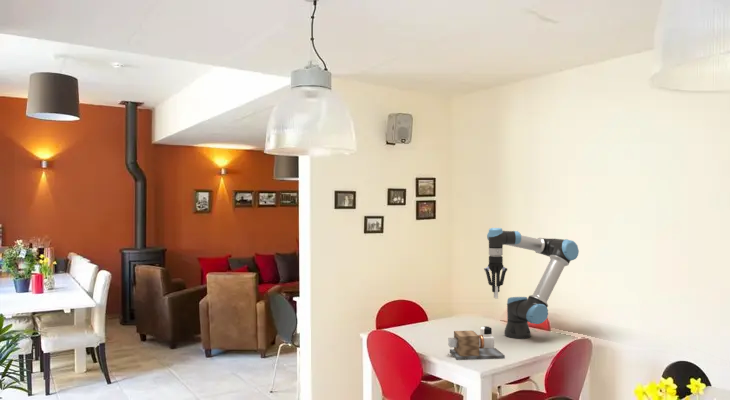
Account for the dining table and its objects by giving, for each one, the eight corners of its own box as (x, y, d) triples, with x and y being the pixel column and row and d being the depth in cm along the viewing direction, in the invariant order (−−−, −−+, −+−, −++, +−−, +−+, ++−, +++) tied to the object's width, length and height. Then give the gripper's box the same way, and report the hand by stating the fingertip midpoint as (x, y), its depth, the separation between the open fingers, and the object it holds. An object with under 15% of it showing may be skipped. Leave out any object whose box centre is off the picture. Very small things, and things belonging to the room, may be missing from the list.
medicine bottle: (490, 347, 299) (490, 325, 299) (494, 350, 292) (494, 328, 292) (477, 347, 299) (477, 325, 299) (481, 351, 292) (481, 328, 292)
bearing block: (495, 350, 292) (495, 329, 292) (504, 358, 278) (504, 335, 278) (449, 352, 289) (449, 330, 289) (456, 359, 275) (456, 337, 275)
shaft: (480, 346, 287) (480, 333, 287) (484, 350, 280) (484, 336, 280) (447, 347, 286) (447, 334, 286) (451, 351, 279) (451, 337, 279)
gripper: (486, 256, 299) (486, 299, 299) (509, 256, 300) (509, 298, 300) (482, 255, 306) (482, 297, 306) (504, 254, 307) (504, 296, 307)
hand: (495, 297), depth 303 cm, fingers closed
